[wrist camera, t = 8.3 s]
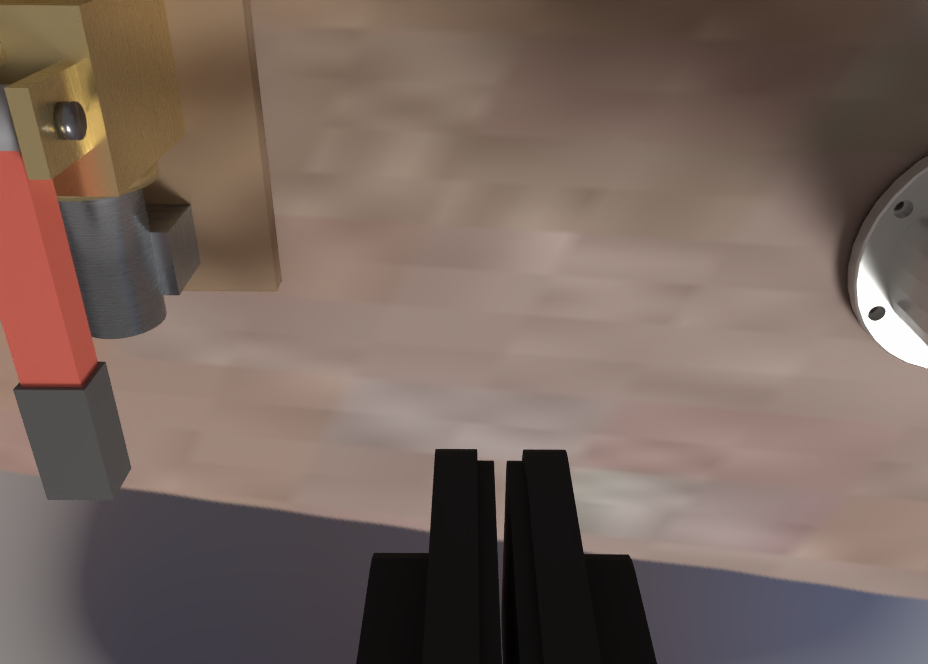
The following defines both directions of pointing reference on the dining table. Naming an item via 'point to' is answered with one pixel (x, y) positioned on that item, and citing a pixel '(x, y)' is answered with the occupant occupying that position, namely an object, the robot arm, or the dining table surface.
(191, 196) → the mount board
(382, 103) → the dining table surface
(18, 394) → the lever
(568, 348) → the dining table surface
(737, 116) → the dining table surface
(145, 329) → the valve
